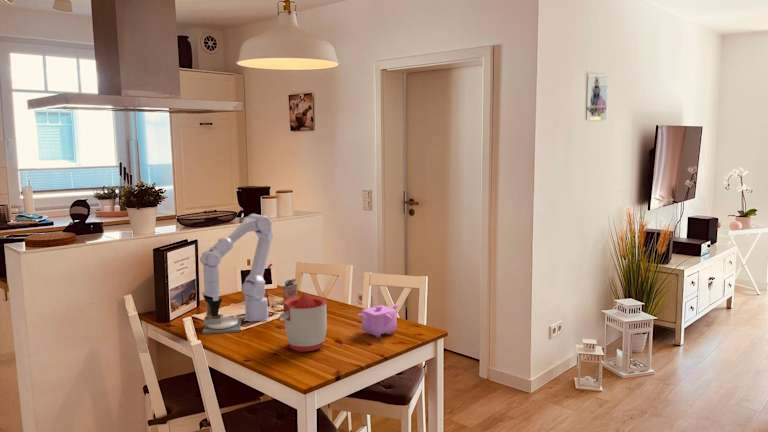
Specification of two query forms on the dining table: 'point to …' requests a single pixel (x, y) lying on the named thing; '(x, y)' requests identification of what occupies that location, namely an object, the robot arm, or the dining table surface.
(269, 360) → the dining table surface
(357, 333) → the dining table surface
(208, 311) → the driver peg
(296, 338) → the citrus juicer
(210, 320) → the dial
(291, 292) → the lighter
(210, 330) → the dial plate
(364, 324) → the teapot
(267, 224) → the robot arm
